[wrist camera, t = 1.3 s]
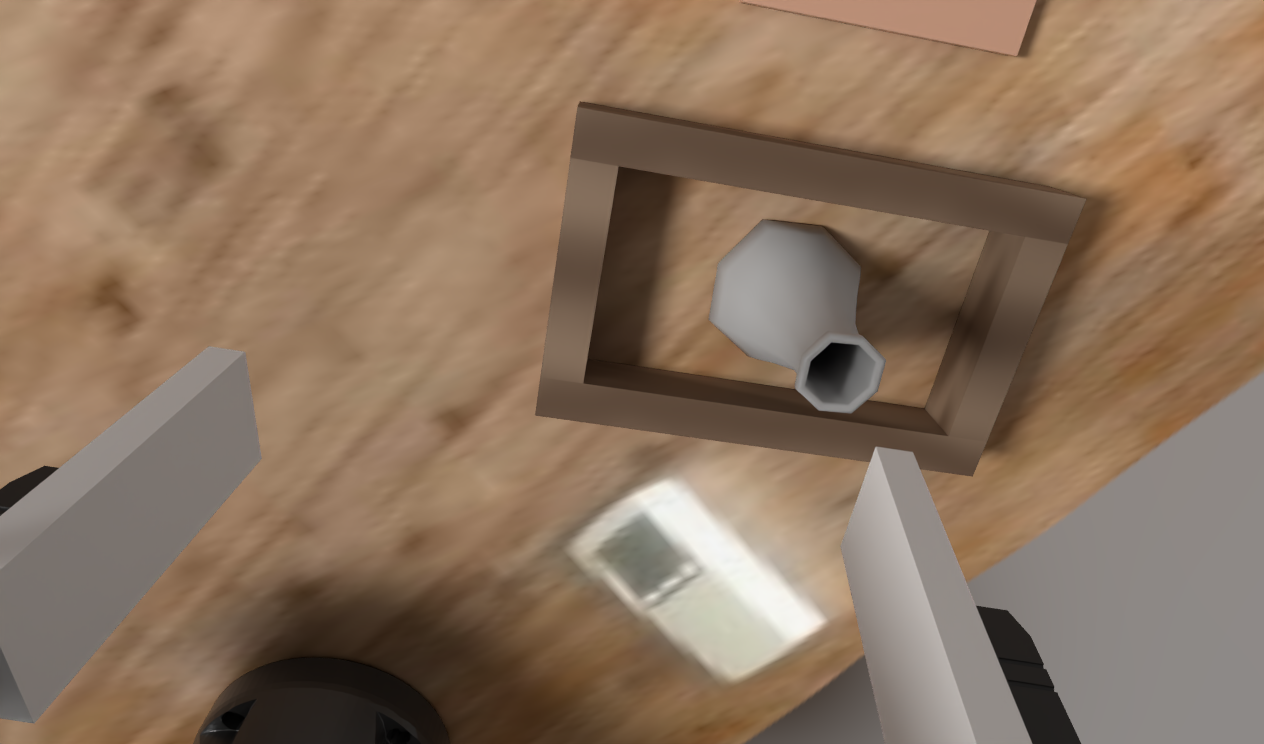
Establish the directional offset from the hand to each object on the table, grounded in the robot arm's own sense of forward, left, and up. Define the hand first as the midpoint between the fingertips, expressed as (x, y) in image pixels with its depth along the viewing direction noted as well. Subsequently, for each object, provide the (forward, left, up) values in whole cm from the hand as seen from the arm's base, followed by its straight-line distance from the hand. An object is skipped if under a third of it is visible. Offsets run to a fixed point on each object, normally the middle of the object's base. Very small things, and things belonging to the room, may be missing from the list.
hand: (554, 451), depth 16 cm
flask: (-2, -10, -21) cm, 24 cm away
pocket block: (-2, -10, -21) cm, 23 cm away
